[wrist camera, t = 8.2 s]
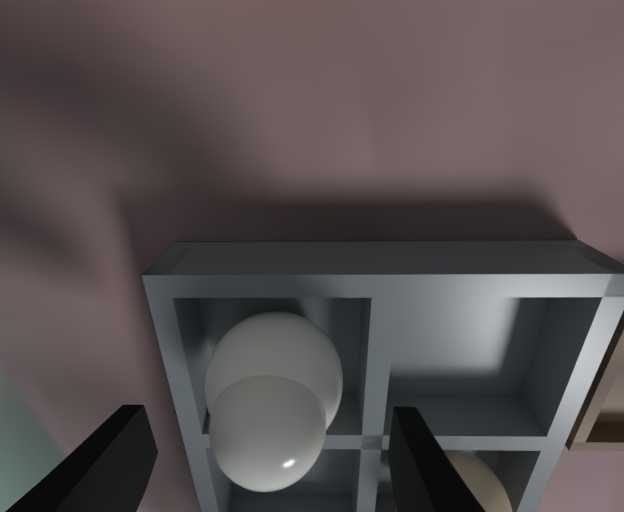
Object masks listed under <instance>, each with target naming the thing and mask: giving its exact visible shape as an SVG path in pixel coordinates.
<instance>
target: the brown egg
mask: <svg viewBox="0 0 624 512" xmlns="http://www.w3.org/2000/svg"><path fill="white" fill-rule="evenodd" d="M443 451H444V453H445V454H446V456H447V457H448V459H449V460H450V462H451V463H452V465H453V466H454V468H455V469H456V471H457V472H458V473H459V475H460V476H461V478H462V479H463V481H464V482H465V484H466V485H467V486H468V488H469V489H470V491H471V492H472V494H473V495H474V496H475V498H476V499H477V500H478V502H479V503H480V504H481V506H482V507H483V509H484V510H485V511H486V512H512V507H511V504H510V500H509V498H508V495H507V493H506V491H505V489H504V487H503V485H502V483H501V481H500V480H499V479H498V477H497V476H496V474H495V473H494V472H493V471H492V469H491V468H490V467H489V466H488V465H487V464H486V463H485V462H484V461H482V460H481V459H480V458H479V457H477V456H476V455H474V454H473V453H471V452H469V451H468V450H443ZM396 511H397V508H396Z"/></svg>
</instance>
